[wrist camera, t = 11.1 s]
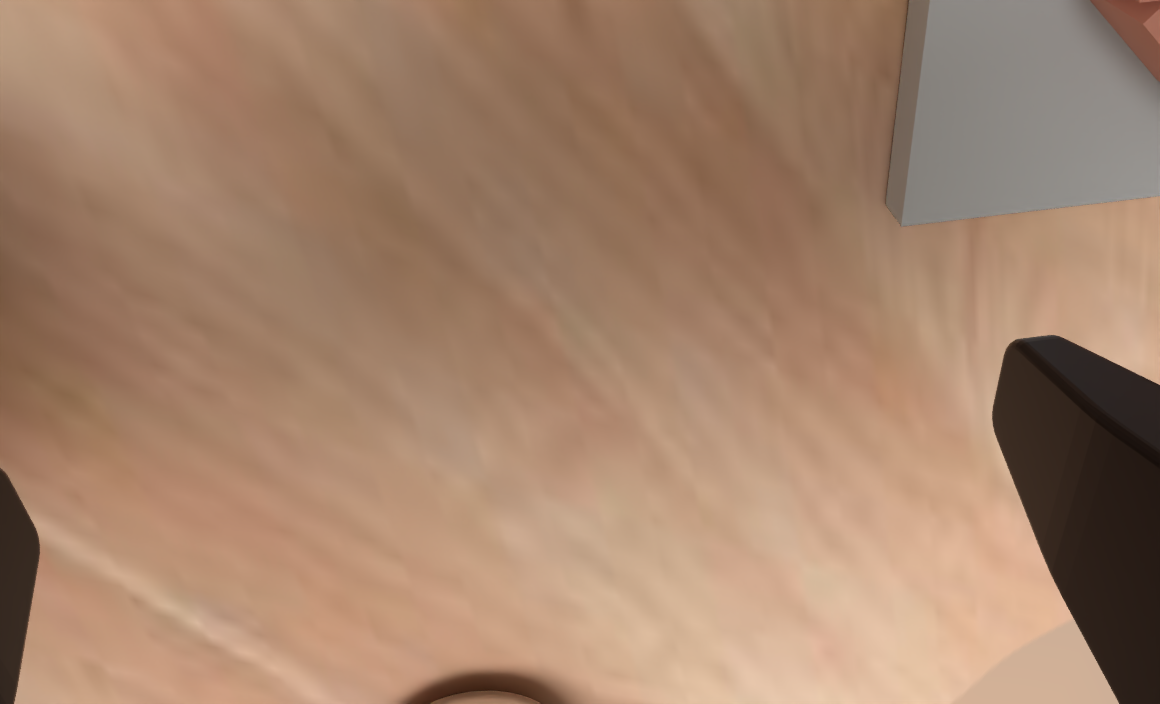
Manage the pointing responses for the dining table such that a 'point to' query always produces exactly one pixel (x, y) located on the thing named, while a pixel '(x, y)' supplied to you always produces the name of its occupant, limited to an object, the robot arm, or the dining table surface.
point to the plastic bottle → (486, 698)
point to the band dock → (1025, 107)
